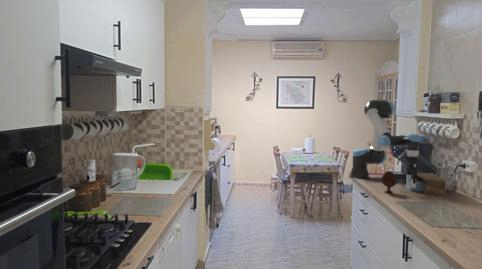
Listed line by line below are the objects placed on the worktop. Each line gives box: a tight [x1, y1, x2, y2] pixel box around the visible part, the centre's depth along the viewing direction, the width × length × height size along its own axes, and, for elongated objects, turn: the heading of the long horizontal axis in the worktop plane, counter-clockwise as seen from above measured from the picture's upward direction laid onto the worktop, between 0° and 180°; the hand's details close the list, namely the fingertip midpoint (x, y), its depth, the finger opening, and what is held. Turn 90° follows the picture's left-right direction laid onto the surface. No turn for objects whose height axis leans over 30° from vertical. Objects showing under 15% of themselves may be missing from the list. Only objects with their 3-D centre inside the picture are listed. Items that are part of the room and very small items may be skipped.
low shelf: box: [416, 172, 447, 196], centre depth 263 cm, size 26×12×10 cm, turn 170°
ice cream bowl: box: [380, 170, 399, 195], centre depth 254 cm, size 11×11×15 cm
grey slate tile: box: [405, 180, 426, 192], centre depth 264 cm, size 10×18×5 cm, turn 80°
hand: (410, 185), depth 266 cm, fingers open, 13 cm apart
